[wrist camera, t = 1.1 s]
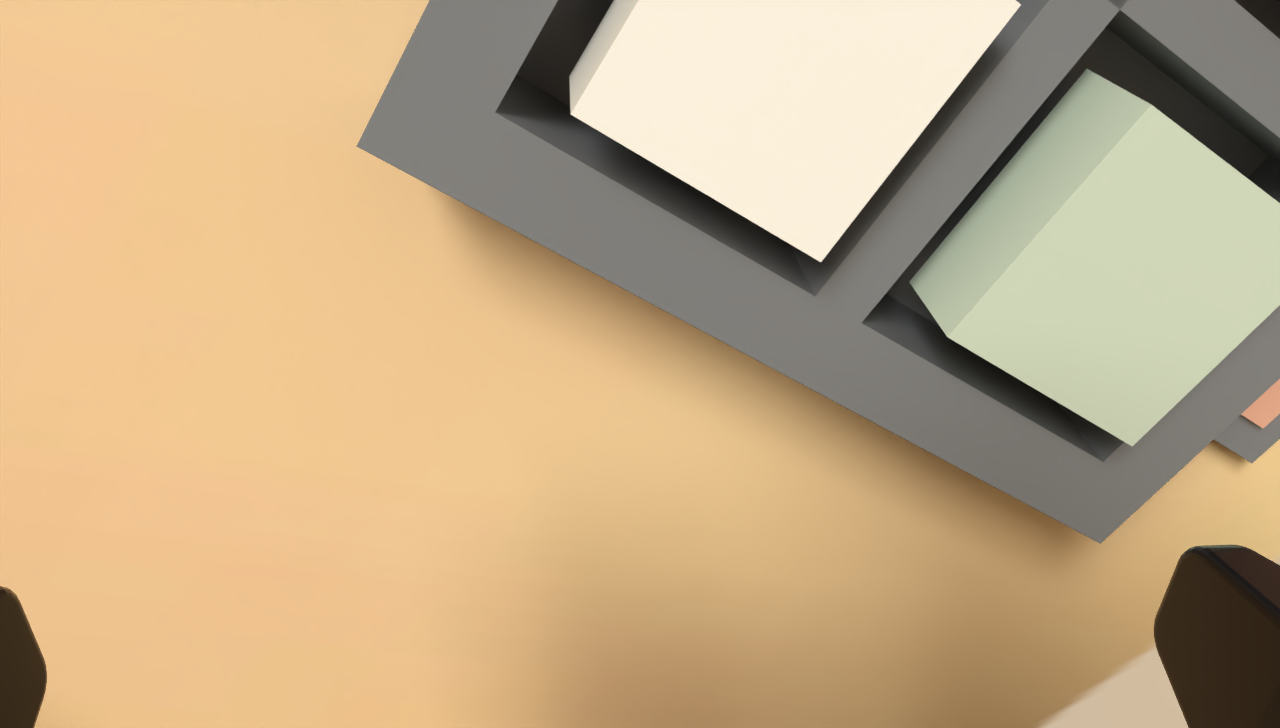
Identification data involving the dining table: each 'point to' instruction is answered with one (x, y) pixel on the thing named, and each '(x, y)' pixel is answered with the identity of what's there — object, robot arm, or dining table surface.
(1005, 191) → the key sage
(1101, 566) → the dining table surface
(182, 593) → the dining table surface
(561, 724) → the dining table surface
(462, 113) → the keypad
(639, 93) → the key offwhite
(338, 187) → the dining table surface
